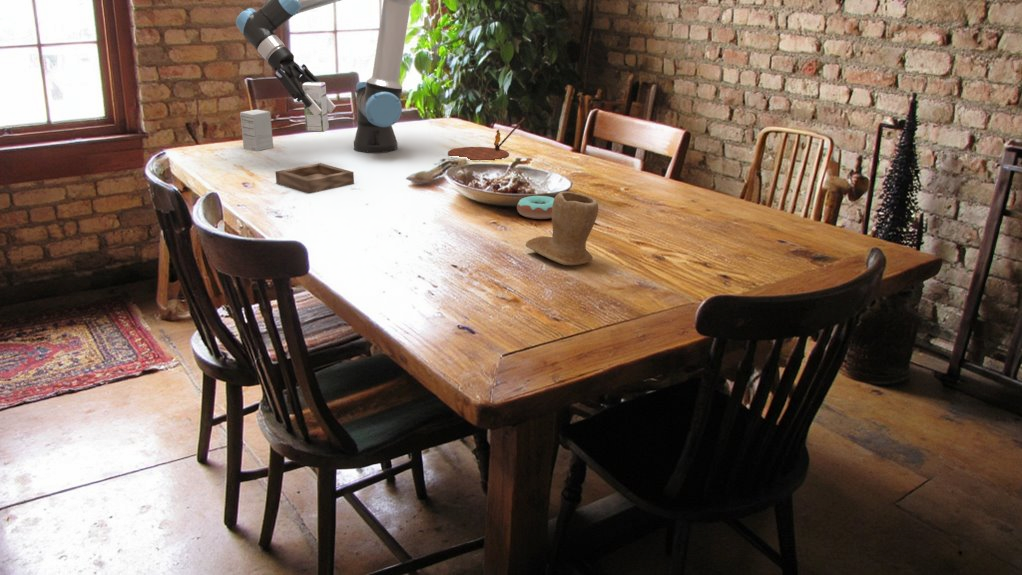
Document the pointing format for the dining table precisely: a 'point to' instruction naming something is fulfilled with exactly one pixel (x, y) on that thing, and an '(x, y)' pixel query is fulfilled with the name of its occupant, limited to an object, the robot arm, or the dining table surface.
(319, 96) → the syrup box
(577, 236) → the brown hollow piece
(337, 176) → the walnut tray
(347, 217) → the dining table surface
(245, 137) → the supplement box
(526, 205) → the donut
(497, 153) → the incense holder
